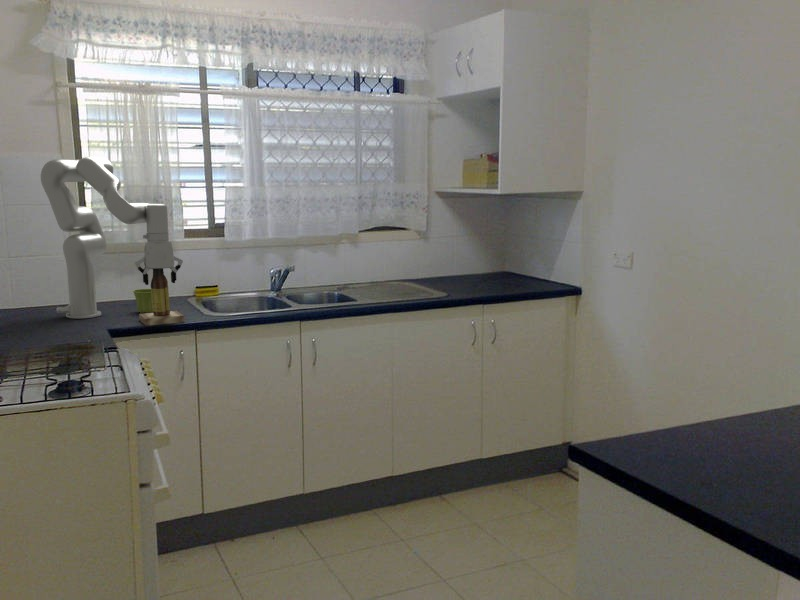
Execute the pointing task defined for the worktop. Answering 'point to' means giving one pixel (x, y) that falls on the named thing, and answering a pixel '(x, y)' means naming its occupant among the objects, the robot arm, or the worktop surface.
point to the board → (161, 318)
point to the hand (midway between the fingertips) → (160, 283)
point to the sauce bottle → (160, 293)
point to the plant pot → (143, 300)
